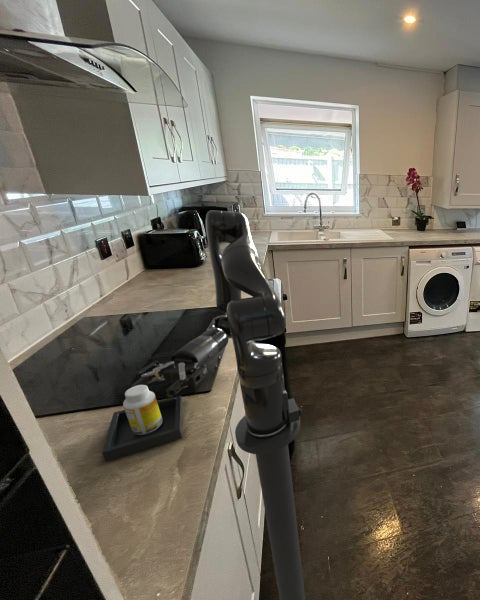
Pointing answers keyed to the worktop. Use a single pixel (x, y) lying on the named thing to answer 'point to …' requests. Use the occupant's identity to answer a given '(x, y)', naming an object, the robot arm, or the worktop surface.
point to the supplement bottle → (142, 410)
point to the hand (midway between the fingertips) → (150, 392)
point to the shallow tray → (127, 442)
